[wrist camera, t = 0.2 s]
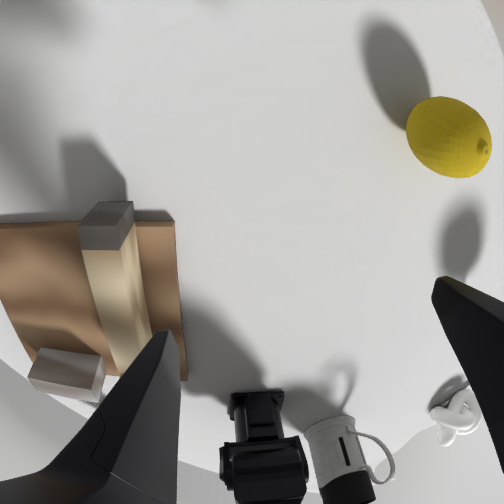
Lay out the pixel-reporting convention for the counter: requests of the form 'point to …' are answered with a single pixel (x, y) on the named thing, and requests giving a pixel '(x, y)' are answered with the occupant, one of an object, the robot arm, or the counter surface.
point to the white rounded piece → (457, 417)
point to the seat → (78, 302)
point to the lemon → (449, 137)
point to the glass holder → (342, 461)
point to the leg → (116, 278)
